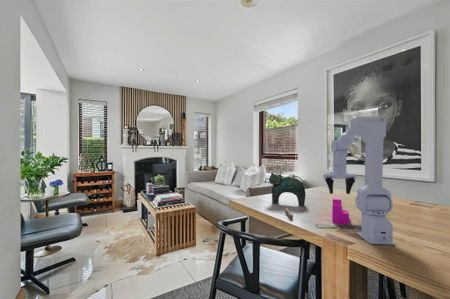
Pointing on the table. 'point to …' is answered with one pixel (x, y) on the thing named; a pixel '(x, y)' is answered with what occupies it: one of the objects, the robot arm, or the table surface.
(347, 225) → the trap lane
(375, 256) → the table surface
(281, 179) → the ceramic cat
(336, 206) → the toy block
